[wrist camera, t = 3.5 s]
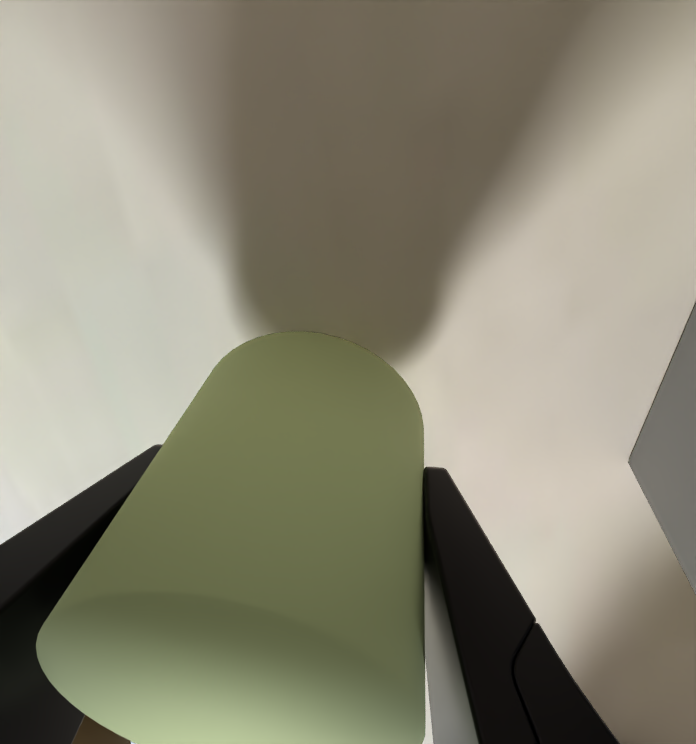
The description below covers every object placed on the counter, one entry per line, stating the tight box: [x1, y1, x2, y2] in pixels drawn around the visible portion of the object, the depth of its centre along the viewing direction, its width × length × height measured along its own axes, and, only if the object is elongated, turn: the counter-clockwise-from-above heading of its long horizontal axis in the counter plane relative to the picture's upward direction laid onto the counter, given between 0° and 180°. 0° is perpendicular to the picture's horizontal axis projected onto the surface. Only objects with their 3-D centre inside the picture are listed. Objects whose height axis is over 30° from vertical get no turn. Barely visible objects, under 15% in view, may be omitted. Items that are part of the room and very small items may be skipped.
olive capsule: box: [36, 331, 425, 744], centre depth 8 cm, size 5×5×6 cm
